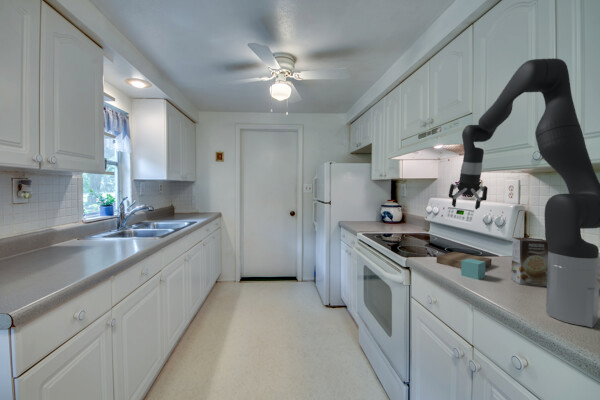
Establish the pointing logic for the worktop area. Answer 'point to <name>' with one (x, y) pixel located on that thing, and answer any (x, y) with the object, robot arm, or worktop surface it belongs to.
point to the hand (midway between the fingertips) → (465, 207)
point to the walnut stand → (460, 259)
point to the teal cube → (473, 268)
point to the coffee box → (529, 261)
